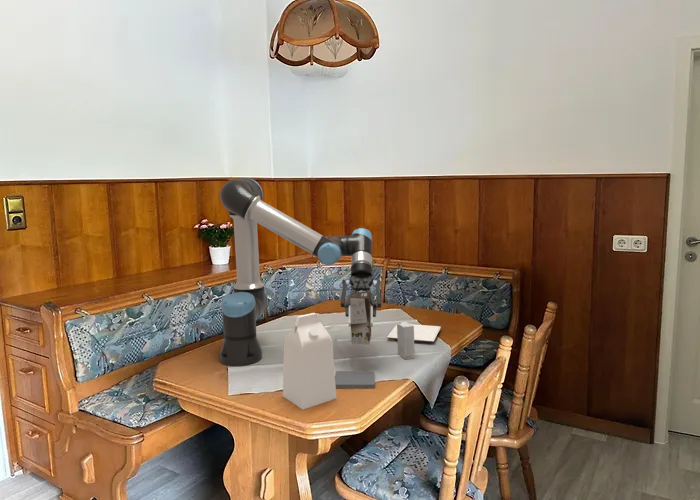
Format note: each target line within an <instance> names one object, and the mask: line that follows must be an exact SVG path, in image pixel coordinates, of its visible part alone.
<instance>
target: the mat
mask: <svg viewBox="0 0 700 500" xmlns="http://www.w3.org/2000/svg"><path fill="white" fill-rule="evenodd" d="M334 372H335V385H336V389H376V388H375V383H376V381H375V374H376V373H375V371H374V370H336V371H334Z"/></svg>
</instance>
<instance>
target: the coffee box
mask: <svg viewBox="0 0 700 500" xmlns="http://www.w3.org/2000/svg"><path fill="white" fill-rule="evenodd" d="M371 306H372V305H371V303H370V292H366V291H357V292H354V293H352V295H351V297H350V312H351V327H350V344H351V345H368V346H369V345H370V343H371V339H372V327H370V319H371Z"/></svg>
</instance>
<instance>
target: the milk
mask: <svg viewBox="0 0 700 500" xmlns="http://www.w3.org/2000/svg"><path fill="white" fill-rule="evenodd" d="M333 345H334V344H333V340H332V337H331V336H330V334H329V332H328V331H327V329H326V328H325V326H324V325H323V324H322V322H321V321H320V318H319V316H318V314H317V313H315V312H311V313H306V314H301V315H297V317H296V320H295V323H294V326H293V327H292V328H291V329H290V330H289V332H288V333H287V334H286V335H285V337H284V340H283V367H282V368H283V371H282V373H283V374H282V375H283V377H282V378H283V379H282V397H283V398H285V400H287V401H290V403H292V404H294V405H295V406H297V407H298V408H299V409H301V410H305V409H306V410H307V409H308V408H312V407H315V406H318V405H321V404H323V403H327V402H330V401H333V400H336V399H337V388H336V385H335V372H336V371H335V362H334V361H335V359H334V348H333V347H334V346H333Z"/></svg>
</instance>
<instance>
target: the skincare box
mask: <svg viewBox="0 0 700 500" xmlns="http://www.w3.org/2000/svg"><path fill="white" fill-rule="evenodd" d="M396 324H397V339H398V340H397V354H398V356H400V357H401V358H403V359H404V360H410V359H414V358H415V356H416V354H415V341H414V326H413V325H411V324H412V323H409V322H407V321H402V322H397V323H396Z"/></svg>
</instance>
